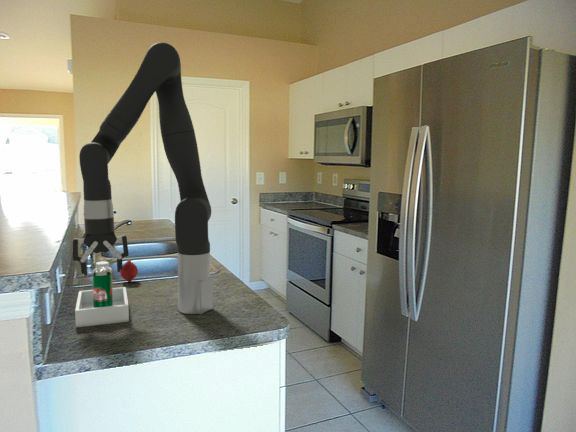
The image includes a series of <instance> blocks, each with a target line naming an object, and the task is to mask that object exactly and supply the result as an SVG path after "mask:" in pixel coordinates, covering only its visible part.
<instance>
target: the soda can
mask: <svg viewBox="0 0 576 432" xmlns="http://www.w3.org/2000/svg"><path fill="white" fill-rule="evenodd" d="M94 269H95V268H94ZM94 269H93V271H94V272H92V276H91V278H92V279H91V281H92V290H93V305H94V308H98V307H108V306H113V296H112V284H113V272H112V273H111V271H110V269H108V268H99V269H95V270H94Z"/></svg>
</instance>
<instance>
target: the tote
mask: <svg viewBox="0 0 576 432" xmlns="http://www.w3.org/2000/svg"><path fill="white" fill-rule="evenodd" d="M112 296H113V306H108V307H98V308H94V305H93V289H88V290H79V291H78V295H77V299H76V305H75V310H74V316H75V317H74V318H75V328H82V327H91V326H100V325H107V324H108V325H109V324H118V323H127V322H129V321H130V316H129V310H130V309H129V301H128V294H127V287H126V286H123V287H113V288H112Z"/></svg>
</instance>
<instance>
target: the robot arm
mask: <svg viewBox="0 0 576 432" xmlns="http://www.w3.org/2000/svg"><path fill="white" fill-rule="evenodd" d="M181 65H182V64H181V57H180V54H179V52H178V51H177V49H176V48H175V47H174V46H173V45H171V44H170V43H168V42H156V43H154V44H151V46H149V48H148V49H147V51H146V53H145V55H144V57H143V59H142V62H141V64H140V66H139V68H138V70H137V72H136V74H135V75H134V76H133V78H132V80H131V82H130V83H129V86H128V87H126V90H125V91H124V92H123V94H122V95H121V96H120V98H119V99H118V101H117V102H116V103H115V104H114V106H113V107H112V108H111V110H110V111H109V113H108V114H107V116H106V117H105V118H104V120H103V121H102V122H101V124H100V126H99V130H98V132H97V133H96V135H95V136H94V137H93V139H92V140H91V141H90V142H88V143H86V144H84V145H83V146H82V147H81V149H80V152H79V168H80V172H81V177H82V183H83V219H84V238H77V237H74V238H73V240H72V261H74V262H79V263H80V271H81V274H82V275H83V274H84V276H85V277H86V276H88V267H87V266H88V264H87V263H88V262H87V259H88V258H89V257H90V256H91V254H92V253H95V254H99V253H108V252H111V253H112V254H113V255H114V256H115V257H116V270H117V271H116V272H117V273H120V270H122V268H123V267H122V266H123V259H124V258H127V257H129V247H128V245H129V244H128V238H127V235H126V234H122V235H117V236H116V233H115V219H114V217H115V216H114V215H115V212H114V204H113V200H112V184H111V181H110V178H109V165H108V164H110V162H111V161H112V159H113V158H114V156H115V154H116V153H117V151H118V149H119V148H120V146H121V144H122V143H123V142H124V140H126V139H127V137H128V136H129V134H130V133H131V131H132V130H133V128H134V127H136V124H138V123H137V122H138V121H139V119H140V118H141V116H142V114H143V113H144V110H145V108H146V107H147V105H148V103H149V101H150V100H151V98H152V96H153V95H154V94H156V98H157V102H158V118H159V128H160V134H161V135H160V136H161V139H162V143H163V144H162V145H163V149H164V153H165V156H166V159H167V161H168V163H169V165H170V168H171V171H172V172H173V174H174V176H175V179H176V182H177V186H178V191H179V200H180V201H179V203H178V204H177V205H176V207H175V211H174V230H175V231H174V235H175V243H176V246H177V298H178V299H177V300H178V301H177V303H178V307H177V308H178V311H179V312H180V313H182V314H186V315H187V314H188V315H203V314H204V313H206V312H208V311H211V310H213V309H214V278H213V276H211V243H210V240H209V221H210V219H211V216H212V205H211V203H210V200H209V197H208V194H207V191H206V187H205V185H204V181H203V176H202V168H201V161H200V153H199V147H198V142H197V137H196V132H195V128H194V124H193V120H192V117H191V115H190V111H189V109H188V105H187V103H186V100H185V97H184V96H185V95H184V91H183V81H182V69H181V68H182V66H181ZM117 241H118V242H119V243H120V244H122V249H123V251H122V252H120V251H119V250H118V249H117V248H116V247H115V244H116V242H117ZM83 243H84V245H86V247H87V248H86V249H85V251H84V253H83V254H82V255H79V248H80V247H81V246H82V244H83Z"/></svg>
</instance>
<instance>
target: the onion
mask: <svg viewBox="0 0 576 432" xmlns="http://www.w3.org/2000/svg"><path fill="white" fill-rule="evenodd" d="M122 267H123V268H122V270H120V272H119V274H120V276H121V278H122V279H123V280H124V281H126V282H132V281H133V280H134V279H135V278H137V276H138V272H139V270H138V267H137V265H136V264H135V263H133V262H132V259H128V260H127V261H126V262H124V264H122Z"/></svg>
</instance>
